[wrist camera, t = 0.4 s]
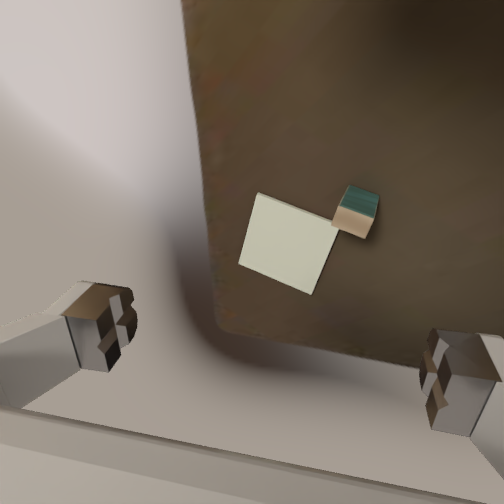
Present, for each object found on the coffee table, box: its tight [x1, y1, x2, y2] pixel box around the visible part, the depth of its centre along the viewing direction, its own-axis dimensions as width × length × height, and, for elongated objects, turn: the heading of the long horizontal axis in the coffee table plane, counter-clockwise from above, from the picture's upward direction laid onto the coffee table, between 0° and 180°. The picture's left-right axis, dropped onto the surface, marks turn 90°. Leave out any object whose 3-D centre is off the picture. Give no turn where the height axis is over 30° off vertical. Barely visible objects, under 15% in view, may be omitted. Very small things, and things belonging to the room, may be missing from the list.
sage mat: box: [239, 192, 339, 295], centre depth 53 cm, size 12×12×1 cm
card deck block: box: [331, 185, 379, 239], centre depth 44 cm, size 3×4×8 cm
